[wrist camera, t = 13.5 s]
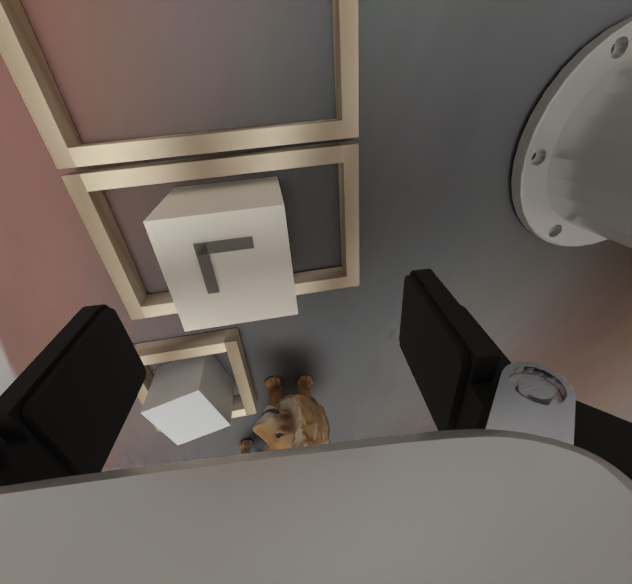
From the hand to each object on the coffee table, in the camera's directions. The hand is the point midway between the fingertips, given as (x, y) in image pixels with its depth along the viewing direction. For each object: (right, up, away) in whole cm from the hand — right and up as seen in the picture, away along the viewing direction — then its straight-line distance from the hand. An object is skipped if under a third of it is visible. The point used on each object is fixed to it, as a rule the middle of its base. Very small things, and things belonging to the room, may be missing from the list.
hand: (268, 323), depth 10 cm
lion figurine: (-2, -8, +16) cm, 19 cm away
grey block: (-7, -5, +13) cm, 16 cm away
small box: (-7, -5, +13) cm, 16 cm away
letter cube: (-3, +5, +8) cm, 10 cm away
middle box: (-3, +5, +8) cm, 10 cm away
